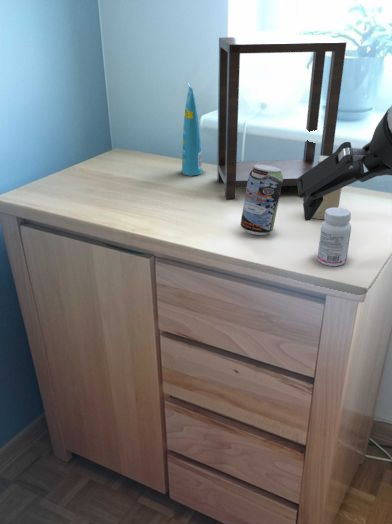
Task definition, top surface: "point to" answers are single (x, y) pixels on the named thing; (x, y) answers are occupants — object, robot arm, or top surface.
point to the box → (327, 199)
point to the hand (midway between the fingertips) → (351, 210)
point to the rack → (228, 99)
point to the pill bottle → (334, 237)
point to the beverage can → (261, 199)
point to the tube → (191, 138)
